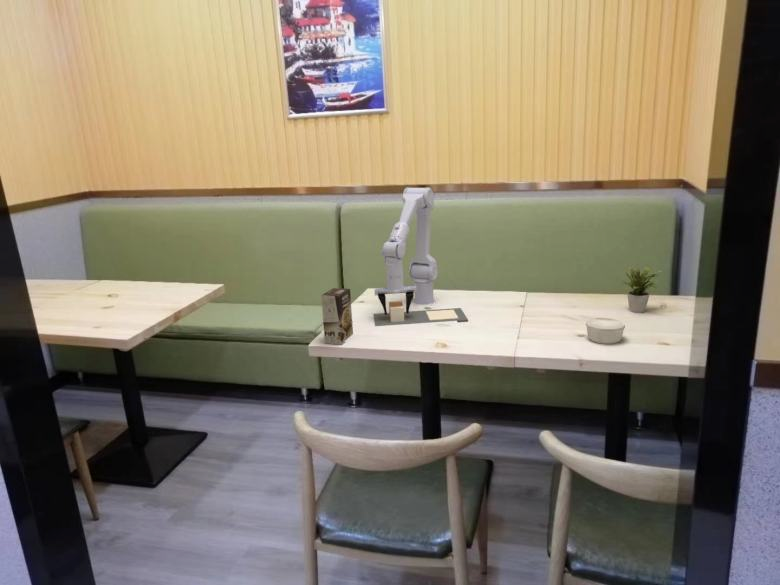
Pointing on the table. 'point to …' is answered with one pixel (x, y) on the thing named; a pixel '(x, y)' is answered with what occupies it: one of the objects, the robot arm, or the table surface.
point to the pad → (441, 315)
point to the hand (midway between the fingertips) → (396, 313)
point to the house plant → (639, 289)
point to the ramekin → (605, 330)
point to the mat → (416, 317)
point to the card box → (396, 311)
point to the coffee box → (337, 315)
